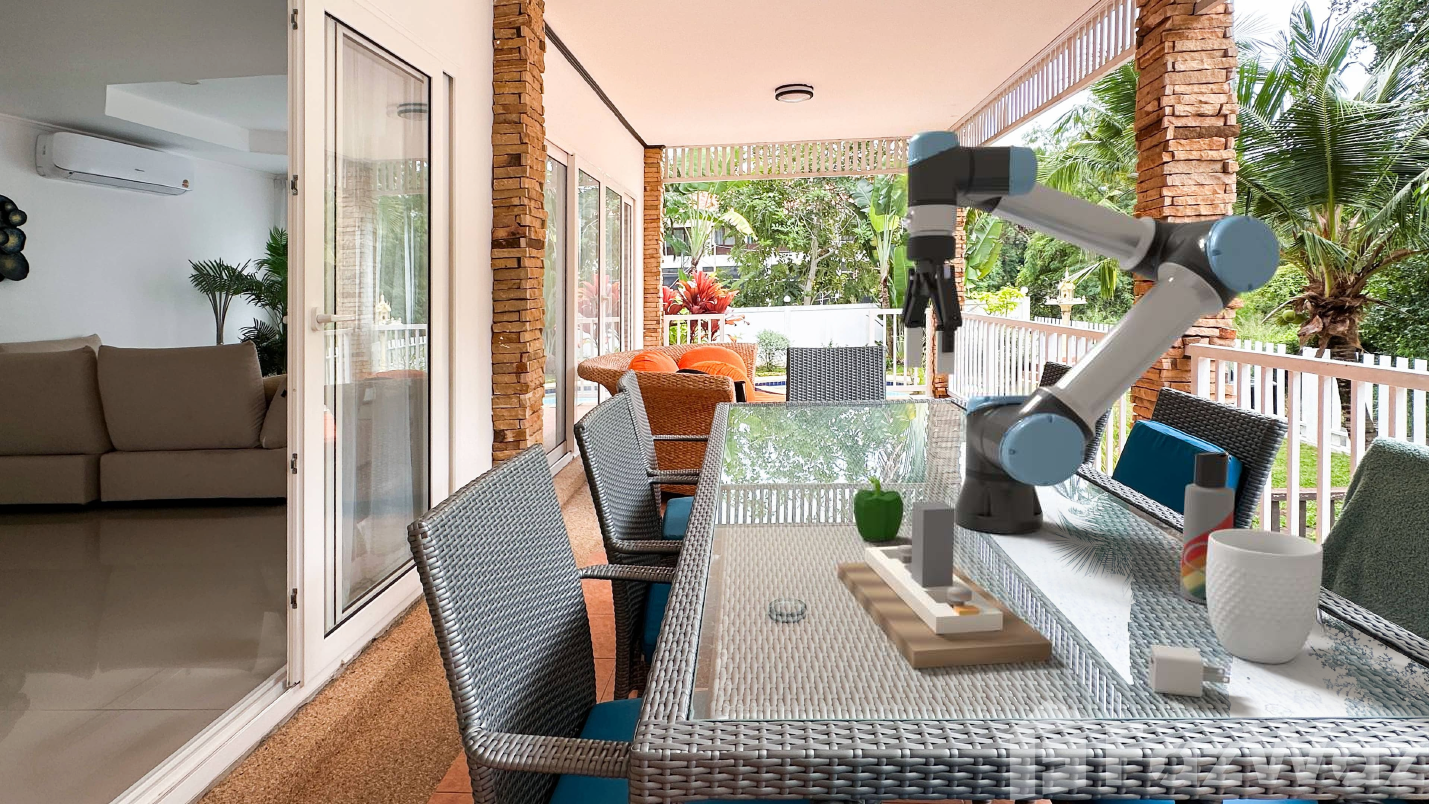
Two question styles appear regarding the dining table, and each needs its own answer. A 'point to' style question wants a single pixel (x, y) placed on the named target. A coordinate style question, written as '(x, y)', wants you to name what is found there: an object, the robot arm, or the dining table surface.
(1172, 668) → the usb wall charger
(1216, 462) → the lotion bottle
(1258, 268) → the robot arm
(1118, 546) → the dining table surface
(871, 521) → the bell pepper
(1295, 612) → the mug
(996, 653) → the pin board
